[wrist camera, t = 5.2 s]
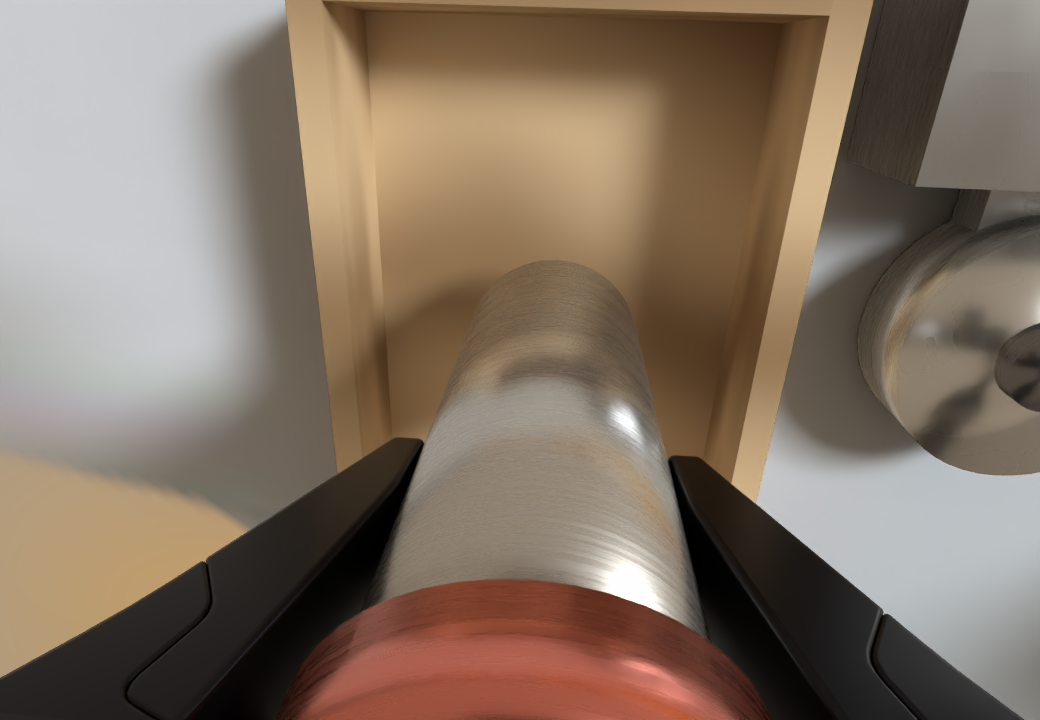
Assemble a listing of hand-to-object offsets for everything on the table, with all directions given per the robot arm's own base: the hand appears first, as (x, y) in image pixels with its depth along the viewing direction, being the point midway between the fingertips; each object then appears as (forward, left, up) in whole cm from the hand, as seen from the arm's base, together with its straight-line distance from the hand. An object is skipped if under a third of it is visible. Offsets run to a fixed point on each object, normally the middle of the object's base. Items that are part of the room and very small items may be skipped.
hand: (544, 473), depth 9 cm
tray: (0, 0, -7) cm, 7 cm away
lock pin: (0, 0, -5) cm, 5 cm away
